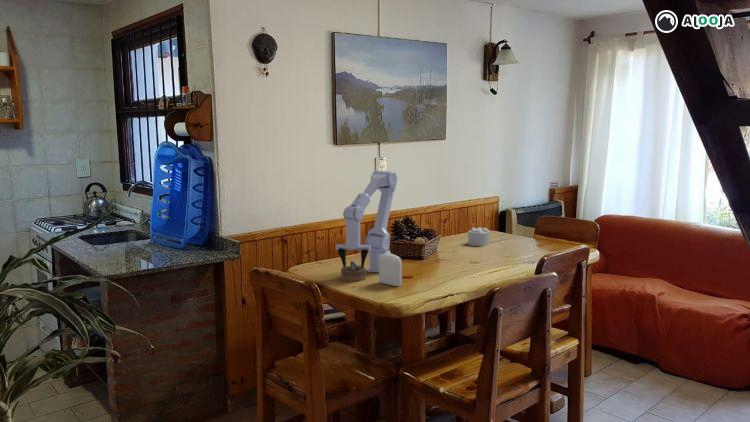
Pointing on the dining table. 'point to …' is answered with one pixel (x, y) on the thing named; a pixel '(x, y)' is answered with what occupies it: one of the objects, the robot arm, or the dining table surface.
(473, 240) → the lumpy-topped squat cylinder
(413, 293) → the dining table surface
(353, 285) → the dining table surface
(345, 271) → the bead
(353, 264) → the dark grey capsule
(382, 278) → the white upright block
